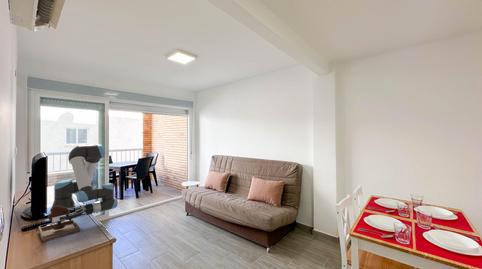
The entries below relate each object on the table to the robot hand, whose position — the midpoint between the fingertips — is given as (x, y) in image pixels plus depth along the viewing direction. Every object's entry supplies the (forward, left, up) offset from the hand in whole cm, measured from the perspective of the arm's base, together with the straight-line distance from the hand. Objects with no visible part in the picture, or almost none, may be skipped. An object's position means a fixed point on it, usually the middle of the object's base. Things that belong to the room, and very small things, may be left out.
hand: (50, 217), depth 132 cm
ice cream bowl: (0, +4, -8) cm, 9 cm away
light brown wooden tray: (0, +4, -11) cm, 11 cm away
